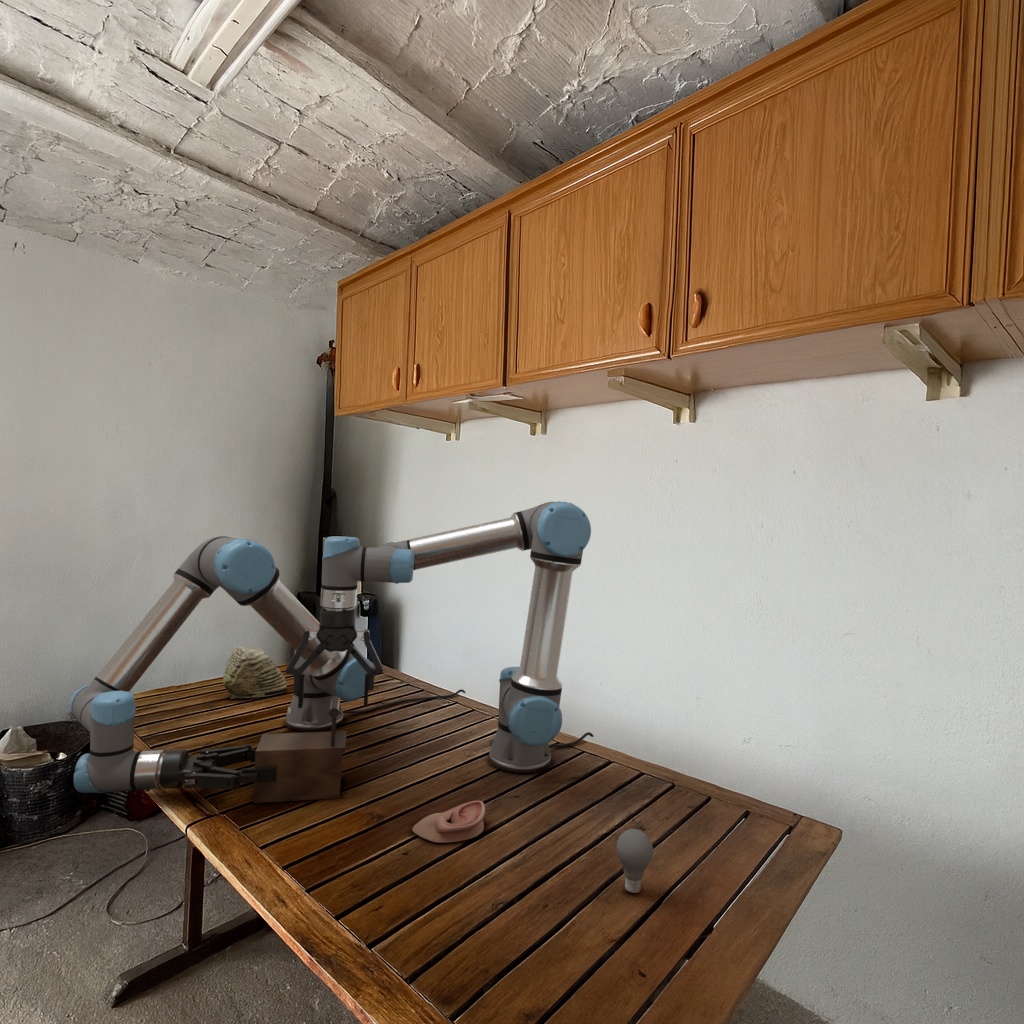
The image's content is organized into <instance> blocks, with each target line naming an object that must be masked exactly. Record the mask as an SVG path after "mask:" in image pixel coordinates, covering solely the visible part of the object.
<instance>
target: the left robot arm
mask: <svg viewBox="0 0 1024 1024" xmlns="http://www.w3.org/2000/svg"><path fill="white" fill-rule="evenodd" d="M172 578H173V581H172V582H171V584H170V585H169V586H168V587H167V588H166V590H165V591H164V593H162V595H161V596H160V597H159V598H158V600H157V601H156V602H155V604H154V605H153V606H152V607H151V609H150V610H149V611H148V612H147V613H146V615H145V616H144V617H143V618H142V619H141V621H140V622H139V623H138V625H137V626H136V627H134V629H133V630H132V632H131V633H130V634H129V636H128V637H127V638H126V639H125V640H124V642H123V643H122V644H121V645H120V647H118V649H117V650H116V651H115V653H114V654H113V655H112V656H111V657H110V659H109V660H108V661H107V662H106V664H105V665H104V666H103V668H101V670H100V671H99V672H98V674H97V675H96V676H95V677H94V678H93V679H92V680H91V682H90V683H89V684H86V685H84V686H81V687H80V688H78V689H76V690H75V692H73V694H72V695H71V697H70V699H69V701H68V702H69V703H68V709H69V712H70V713H71V715H72V717H73V719H75V721H77V723H79V724H81V726H83V727H84V728H85V729H86V730H87V731H88V732H89V740H90V741H89V745H90V746H89V753H88V752H87V753H84V754H83V755H81V756H80V757H79V758H78V760H77V762H76V765H75V767H74V773H73V787H74V788H75V790H76V791H77V792H78V793H82V794H105V793H117V792H118V793H119V792H131V791H135V792H136V791H145V792H148V793H149V792H150V791H151V790H160V788H161V789H163V790H175V789H181V788H182V787H183V788H184V789H197V788H199V789H215V790H217V789H218V790H234V789H235V790H238V789H241V785H242V784H253V783H256V782H274V781H276V767H264V768H255V767H246V768H242V769H241V770H237V769H231V768H226V767H228V766H231V765H235V764H241V763H244V762H249V761H250V763H252V764H253V763H255V757H256V756H255V752H256V749H257V748H252V746H253V745H252V744H243V745H242V744H241V745H235V746H228V747H220V748H208V749H207V748H205V749H204V748H203V749H200V754H198V755H193V756H190V755H189V751H188V750H187V749H185V748H182V749H180V748H178V749H168V750H167V751H166V750H165V749H154V750H153V749H152V750H134V747H135V746H134V745H135V744H134V741H135V724H136V723H135V722H136V721H135V719H136V711H137V707H136V698H135V695H134V693H132V692H130V691H131V690H132V689H133V688H134V687H135V685H136V684H137V683H138V682H139V680H141V678H142V676H144V674H145V673H146V671H147V670H148V669H149V667H150V666H151V665H152V664H153V663H154V661H155V660H156V658H157V657H158V656H159V655H160V654H161V652H162V651H163V650H164V648H165V647H166V646H167V644H168V643H169V642H170V641H171V640H172V638H173V637H174V636H175V634H176V633H177V632H178V631H179V630H180V628H181V627H182V626H183V624H184V623H185V622H186V621H187V619H188V618H189V617H190V616H191V614H192V613H193V612H194V610H195V609H196V608H197V607H198V605H199V604H200V603H201V602H202V600H205V599H208V598H210V597H211V596H212V595H213V593H214V592H216V590H217V589H218V588H221V589H222V590H224V591H225V593H227V594H228V595H229V596H230V597H231V598H232V599H233V600H234V601H235V602H236V603H237V604H238V605H239V606H241V607H249V606H250V607H251V608H252V609H253V610H254V611H255V612H256V613H257V614H258V615H259V616H260V617H261V618H262V619H263V620H264V621H265V622H266V623H267V624H268V625H269V626H270V627H271V628H272V629H273V630H274V631H275V632H276V634H278V635H279V636H280V637H281V638H282V639H283V640H284V641H285V642H286V643H287V644H288V645H289V646H290V647H291V648H292V649H293V650H294V654H295V653H296V651H297V649H298V647H299V646H300V644H301V642H302V640H303V634H304V631H305V630H306V629H310V631H318V630H319V623H320V621H318V619H316V618H315V616H314V615H313V614H312V613H311V612H310V611H309V610H308V609H307V608H306V607H305V606H304V605H303V604H302V603H301V602H300V601H299V599H298V598H297V597H296V596H295V595H294V594H293V593H292V592H291V591H290V590H289V588H287V587H286V586H285V585H284V583H283V582H282V581H281V580H280V579H281V571H280V569H279V568H278V567H277V566H276V562H275V559H274V557H273V554H272V553H271V551H270V550H269V549H268V548H267V547H266V546H265V545H263V544H261V543H259V542H257V541H254V540H251V539H248V538H238V537H232V536H231V537H230V536H226V535H225V536H224V535H220V536H213V537H211V538H209V539H206V540H205V541H203V542H202V543H200V544H199V545H198V546H197V547H195V549H194V550H193V551H191V553H190V554H189V555H188V556H187V557H186V558H185V560H184V561H183V562H182V563H181V564H180V565H179V567H178V568H177V569H176V570H175V572H174V573H173V574H172ZM319 644H320V641H319V640H318V639H317V637H314V638H313V639H312V641H308V643H307V646H306V647H305V649H304V651H303V653H302V654H301V656H300V658H299V660H298V661H297V663H296V665H295V666H294V668H298V667H299V666H300V665H301V664H302V663H303V662H304V661H305V660H306V658H307V657H308V656H309V655H310V654H311V653H312V652H313V651H314V650H315V649H316V648H317V646H318V645H319ZM363 657H364V658H365V659H366V660H367V661H368V663H369V664H370V665H371V666H372V667H373V668H374V664H372V663H373V662H371V661H370V659H368V658H367V657H365V656H364V655H363ZM302 674H305V675H304V695H303V706H302V708H298V700H299V691H295V692H294V691H293V695H292V696H293V697H292V699H291V702H290V704H289V706H288V708H287V710H286V711H287V713H286V715H285V726H286V728H287V729H289V730H291V731H294V732H295V731H296V732H300V733H308V732H326V731H329V730H331V729H332V717H330V716H329V708H330V702H331V699H332V698H333V697H335V696H337V697H339V698H340V701H345V702H353V701H354V702H355V701H357V700H359V699H361V698H362V697H364V690H365V674H368V673H367V672H366V671H365V670H364V668H363V667H362V666H361V665H360V664H359V662H358V661H357V660H356V659H355V658H354V656H353V655H352V654H351V653H350V652H349V651H348V650H345V651H343V652H339V651H333V652H329V651H327V650H324V651H323V652H322V653H321V654H320V655H319V656H318V657H317V658H316V659H315V660H314V661H313V662H312V663H311V664H310V665H309V666H308V667H307V668H306V670H305V671H304V672H303V673H302ZM460 693H463V694H466V691H465V690H464V689H458V690H457V691H455V693H452V694H447V695H435V696H424V697H413V698H406V699H400V700H396V701H392V702H388V703H383V704H380V705H377V706H373V707H370V708H366V709H361V710H360V709H359V710H343V709H342V706H341V705H340V708H339V714H338V716H337V717H336V728H337V727H339V726H340V725H342V723H343V722H344V715H345V714H362V713H363V714H364V713H367V712H371V711H374V710H377V709H381V708H385V707H389V706H392V705H397V704H400V703H401V704H402V703H407V702H417V701H427V700H436V699H446V698H452V697H455V696H457V695H458V694H460Z"/></svg>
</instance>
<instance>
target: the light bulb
mask: <svg viewBox="0 0 1024 1024" xmlns="http://www.w3.org/2000/svg"><path fill="white" fill-rule="evenodd" d="M615 849H616V854H617V857H618V859H619V861H620V863H621V865H622V867H623V873H624V874H623V875H624V876H625V878H624V888H625V890H627V891H628V892H630V893H634V894H635V893H639V892H640V891H641V889H642V887H641V886H642V879H643V877H644V875H645V871H646V868H647V867H648V866H649V864H650V863H651V861H652V859H653V855H654V847H653V843H652V841H651V838H649V836H648V835H647V834H646V833H645V832H643V831H642V830H641V829H636V828H629V829H627V830H625V831H623V832H622V833H621V834H620V835H619V837H618V839H617V841H616V847H615Z"/></svg>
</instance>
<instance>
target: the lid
mask: <svg viewBox="0 0 1024 1024" xmlns="http://www.w3.org/2000/svg"><path fill="white" fill-rule="evenodd" d="M340 706H341V700H340V698H339V697H337V696H335V697H333V698H332V699H331V702H330V708H329V716H330V717H332V729H330V730H331V731H318V732H287V733H285V732H283V733H281V732H280V733H263V734H262V735H261V737H260V740H259V742H258V744H257V747H256V748H255V749H256V752H255V756H277V755H300V754H323V753H342V754H345V753H346V743H347V730H338V731H337V727H336V717H337V716H338V714H339V708H340Z"/></svg>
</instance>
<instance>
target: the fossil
mask: <svg viewBox="0 0 1024 1024" xmlns="http://www.w3.org/2000/svg"><path fill="white" fill-rule="evenodd" d="M222 676H223V677H222V685H223V687H224V688H225V690H226V691H228V693H229V698H230V699H250V698H264V697H271V696H275V695H281V694H284V693H285V691H286V689H287V687H288V686H287V680H286V678H285V676H284V674H283V673H282V672H281V669H279V668H278V667H277V665H276V663H275V662H274V660H273V659H272V658H271V657H270V656H269V655H268V654H267V653H266V652H265V650H264V649H263V648H260V647H258V648H251V647H247V646H246V647H245V646H238V647H237V648H236V649H235V650H233V651H232V653H231V656H230V657H229V659H228V660H227V663H226V666H225V668H224V671H223V675H222Z"/></svg>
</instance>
